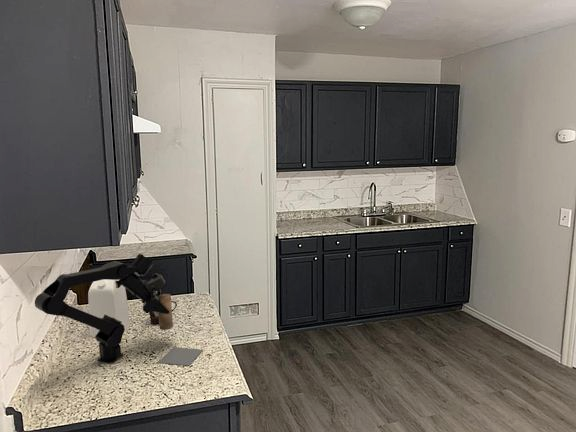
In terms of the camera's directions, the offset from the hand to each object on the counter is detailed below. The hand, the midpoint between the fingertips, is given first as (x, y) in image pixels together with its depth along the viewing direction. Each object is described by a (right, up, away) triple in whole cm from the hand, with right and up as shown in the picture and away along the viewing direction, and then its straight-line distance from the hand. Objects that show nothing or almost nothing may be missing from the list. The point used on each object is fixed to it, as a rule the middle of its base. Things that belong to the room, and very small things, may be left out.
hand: (168, 310), depth 172 cm
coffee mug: (-9, -10, +24) cm, 27 cm away
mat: (+7, -15, -9) cm, 18 cm away
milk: (-29, -12, +16) cm, 35 cm away
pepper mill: (-1, -7, +1) cm, 7 cm away
